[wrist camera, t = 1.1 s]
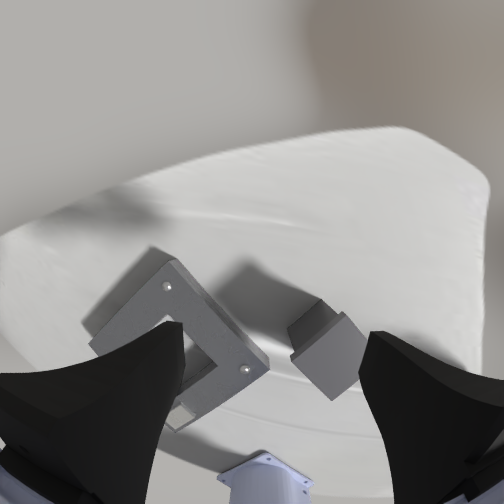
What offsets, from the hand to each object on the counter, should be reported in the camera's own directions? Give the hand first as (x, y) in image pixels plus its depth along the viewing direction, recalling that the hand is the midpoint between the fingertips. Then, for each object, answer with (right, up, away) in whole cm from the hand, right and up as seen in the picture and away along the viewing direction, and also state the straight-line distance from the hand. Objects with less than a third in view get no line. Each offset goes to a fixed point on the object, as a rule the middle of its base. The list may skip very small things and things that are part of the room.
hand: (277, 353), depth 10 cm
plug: (+5, -3, +14) cm, 15 cm away
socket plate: (-8, -5, +14) cm, 17 cm away
